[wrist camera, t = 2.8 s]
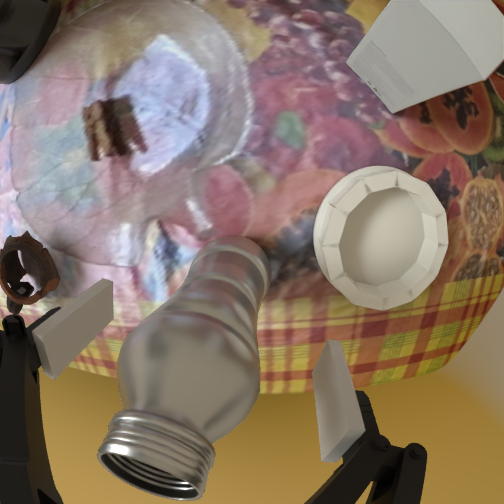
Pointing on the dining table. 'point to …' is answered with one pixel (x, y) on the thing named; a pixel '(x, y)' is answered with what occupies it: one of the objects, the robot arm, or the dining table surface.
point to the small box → (429, 49)
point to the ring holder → (380, 237)
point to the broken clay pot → (11, 271)
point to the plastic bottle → (189, 373)
